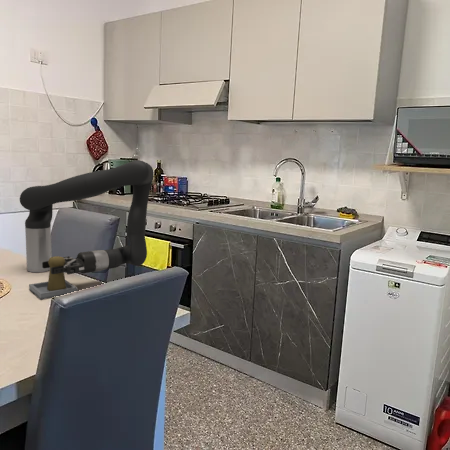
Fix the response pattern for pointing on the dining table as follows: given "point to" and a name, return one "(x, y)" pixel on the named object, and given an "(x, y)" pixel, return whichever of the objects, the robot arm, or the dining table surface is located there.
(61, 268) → the robot arm
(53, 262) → the cork
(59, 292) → the tray
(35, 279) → the dining table surface
